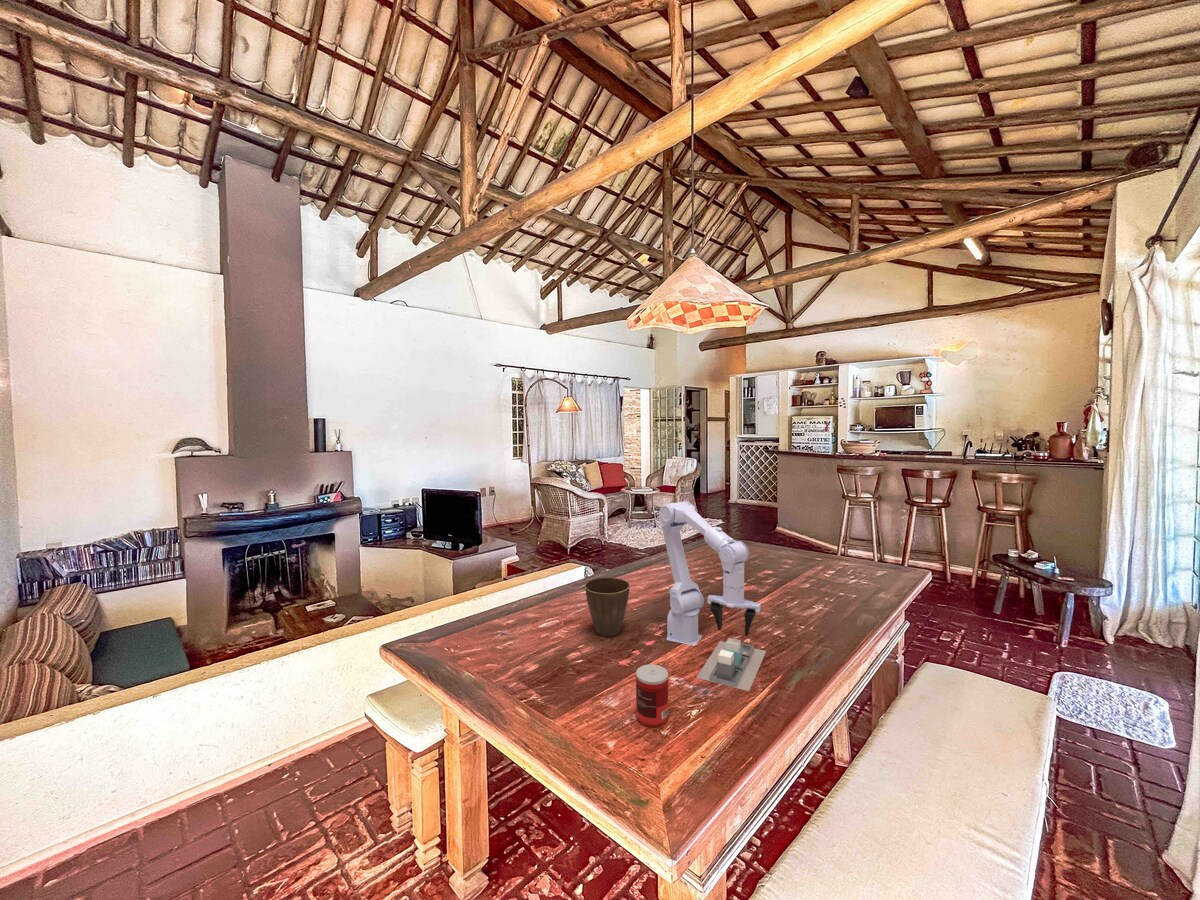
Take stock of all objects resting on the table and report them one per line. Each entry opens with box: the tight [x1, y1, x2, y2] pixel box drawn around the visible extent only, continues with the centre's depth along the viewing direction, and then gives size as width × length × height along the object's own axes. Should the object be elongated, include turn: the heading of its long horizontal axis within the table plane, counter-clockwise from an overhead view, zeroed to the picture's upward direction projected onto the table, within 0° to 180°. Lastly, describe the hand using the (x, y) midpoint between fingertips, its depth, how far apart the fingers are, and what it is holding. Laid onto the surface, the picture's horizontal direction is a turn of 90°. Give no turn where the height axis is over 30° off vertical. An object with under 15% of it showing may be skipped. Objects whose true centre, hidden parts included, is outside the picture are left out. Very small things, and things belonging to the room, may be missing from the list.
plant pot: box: [584, 577, 631, 637], centre depth 159 cm, size 15×15×16 cm
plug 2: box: [717, 650, 735, 680], centre depth 130 cm, size 4×4×6 cm
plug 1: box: [724, 637, 742, 666], centre depth 137 cm, size 4×4×6 cm
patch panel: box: [696, 640, 767, 692], centre depth 137 cm, size 14×24×2 cm, turn 151°
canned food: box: [635, 664, 669, 728], centre depth 113 cm, size 8×8×11 cm
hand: (733, 631), depth 136 cm, fingers open, 7 cm apart
